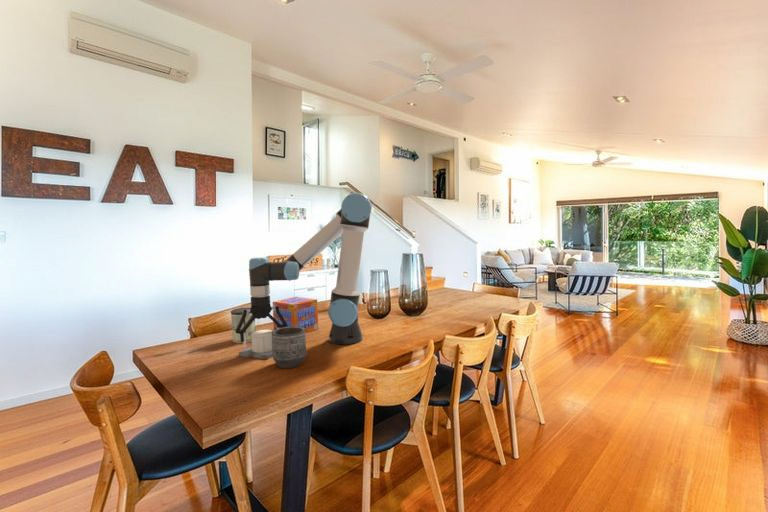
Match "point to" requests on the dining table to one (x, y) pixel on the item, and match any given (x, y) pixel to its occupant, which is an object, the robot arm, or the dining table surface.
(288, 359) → the planter
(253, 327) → the coffee can
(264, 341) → the cap
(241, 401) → the dining table surface
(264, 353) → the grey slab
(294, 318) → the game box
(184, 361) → the dining table surface
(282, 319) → the robot arm
